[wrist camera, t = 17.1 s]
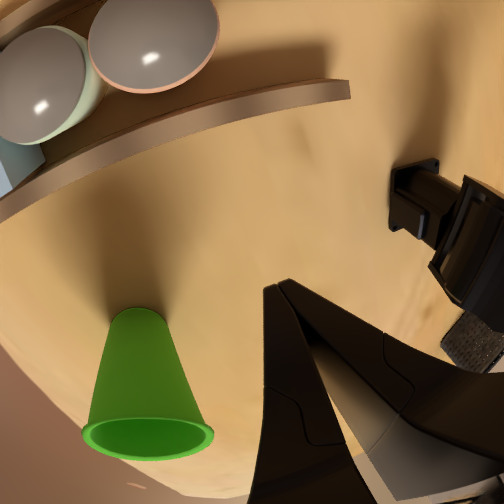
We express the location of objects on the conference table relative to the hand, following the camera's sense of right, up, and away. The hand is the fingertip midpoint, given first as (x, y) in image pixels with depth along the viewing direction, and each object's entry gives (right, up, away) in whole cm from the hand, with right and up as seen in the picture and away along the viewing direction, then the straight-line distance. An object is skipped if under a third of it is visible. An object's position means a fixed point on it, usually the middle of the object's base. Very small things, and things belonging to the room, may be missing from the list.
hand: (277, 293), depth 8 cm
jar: (-6, +13, +4) cm, 15 cm away
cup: (-11, -5, +15) cm, 19 cm away
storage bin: (+54, -11, +43) cm, 70 cm away
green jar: (-12, +11, +3) cm, 17 cm away
